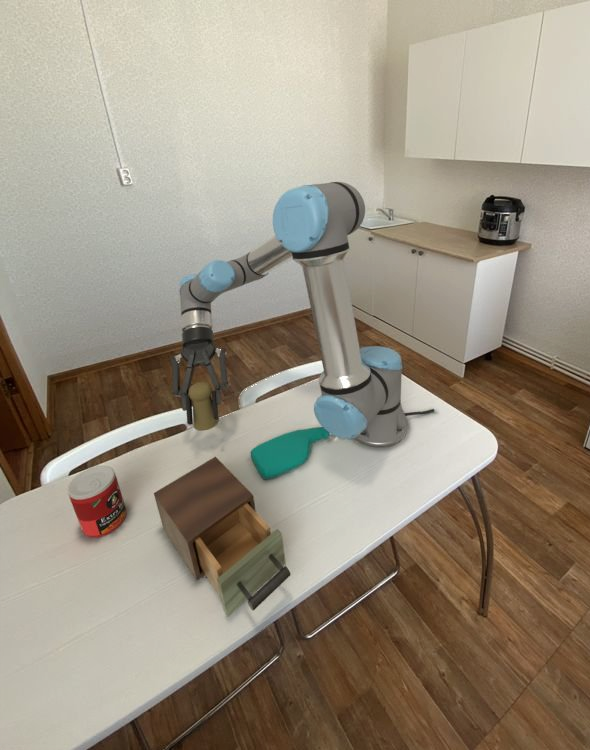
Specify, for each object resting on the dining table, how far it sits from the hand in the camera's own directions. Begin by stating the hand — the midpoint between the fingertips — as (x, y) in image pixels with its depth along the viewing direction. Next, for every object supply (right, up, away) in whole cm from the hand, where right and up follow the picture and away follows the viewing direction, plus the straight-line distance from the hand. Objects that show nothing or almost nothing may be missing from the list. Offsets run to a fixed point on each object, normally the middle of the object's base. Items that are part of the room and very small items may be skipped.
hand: (203, 420), depth 91 cm
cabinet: (+8, -17, -16) cm, 24 cm away
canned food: (-14, -16, -13) cm, 26 cm away
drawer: (+17, -19, -24) cm, 35 cm away
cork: (-1, -2, +5) cm, 5 cm away
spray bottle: (+23, -9, +5) cm, 25 cm away
